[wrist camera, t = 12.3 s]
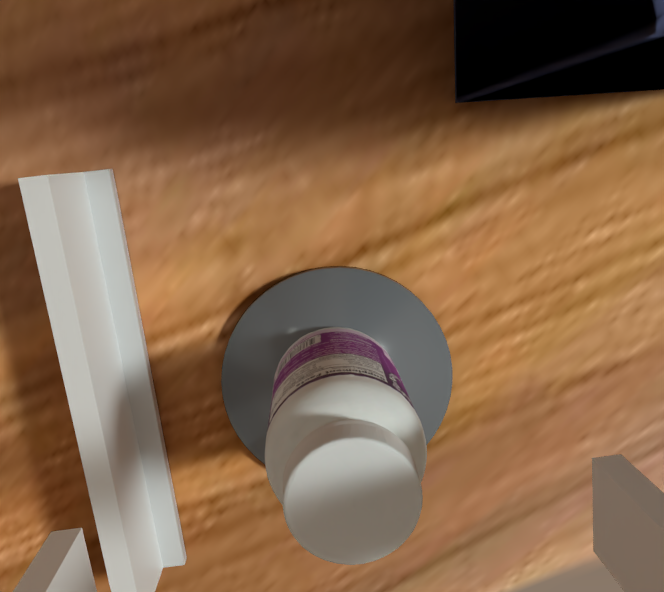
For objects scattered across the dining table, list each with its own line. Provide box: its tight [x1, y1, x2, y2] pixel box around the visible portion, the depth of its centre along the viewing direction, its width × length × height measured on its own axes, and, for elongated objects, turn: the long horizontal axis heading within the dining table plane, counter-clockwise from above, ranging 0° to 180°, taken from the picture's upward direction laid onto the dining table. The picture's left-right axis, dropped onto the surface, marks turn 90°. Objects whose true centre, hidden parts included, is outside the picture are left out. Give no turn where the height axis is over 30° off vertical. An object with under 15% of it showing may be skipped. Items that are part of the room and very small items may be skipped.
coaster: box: [221, 266, 452, 464], centre depth 27 cm, size 10×10×1 cm
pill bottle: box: [265, 327, 427, 565], centre depth 22 cm, size 5×5×10 cm
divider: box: [18, 169, 187, 592], centre depth 25 cm, size 3×18×4 cm, turn 6°
